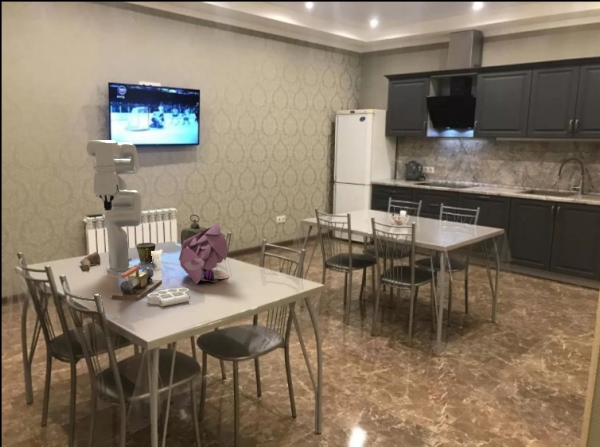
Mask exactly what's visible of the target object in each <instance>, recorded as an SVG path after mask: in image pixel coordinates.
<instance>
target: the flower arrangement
mask: <svg viewBox="0 0 600 447" xmlns="http://www.w3.org/2000/svg"><path fill="white" fill-rule="evenodd" d="M220 226H221V225H220V224H219V223H214V224H213V225H212V226H210V227H208V228H207V229H206V230H204V231H203V232H201V233H199V234H197V235H195V236H193V237H191V238H189V239H187V240H185V241H184V242H183V246H182V247H181V250H180V253H179V257H178V260H179V263H180V267H181V268H182V269H183V270H184V271H185V273H186V274H187V276H189V277H190V279H191V280H192V281H193V283H195V285H198V284H199V282H200V281H206V282H214V283H216V282H217V281H219V280H222V279H223V280H224V279H229V277H230V274H228V273H226V272H223V271H222V270H219V269H215V268H216V266H217V264H221V263H222V262H223V260H224V261H226V259H227V257H228V244H227V240H226V238H225V235H224V234H222V232H221V227H220Z"/></svg>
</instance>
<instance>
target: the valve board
mask: <svg viewBox="0 0 600 447" xmlns="http://www.w3.org/2000/svg"><path fill="white" fill-rule="evenodd" d="M162 281H163V280H162V279H152V282H151V283H147V284H146V285H144V286H143V287H141V288H139V287H134V288H133V289H136V290H137V292H136V293H135V294H122V291H121V289H119V290H118V291H116V292H115V293H113V294H111V299H112V300H113V299H115V300H127V301H128V300H130V301H131V300H132V301H140V300H141V299H143V298H144V297H145V296H147V295H148V294H150V293H152V291H154V290H155V289H156V288H157V287H159V286H160V285H162V284H163V283H162Z"/></svg>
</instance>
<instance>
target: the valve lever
mask: <svg viewBox="0 0 600 447" xmlns="http://www.w3.org/2000/svg"><path fill="white" fill-rule="evenodd" d="M140 269H141V264H135V265H133V266H132V268H131V269H129V270H127V271H123V272H122V273H121V274H120V275H119V277H120V279H126V278H128V276H129V275H131V274H132V273H134V272H136V271H137V270H139V271H140Z"/></svg>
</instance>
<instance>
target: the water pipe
mask: <svg viewBox="0 0 600 447" xmlns="http://www.w3.org/2000/svg"><path fill="white" fill-rule="evenodd" d="M154 274H155V273H154V270H153V268H151V267H145V268H143V269H142V270H141V272H140V269H139V270H137V271H136V272H134V273H132V274H131V275H129V276H128V277H127V279H126V280H123V281H122V282H121V283H120V285H119V290H121V291H122V294H135V293H136V292H137V290H136V289H133V288H134V287H139V288H141V287H143V286H144V285H146V284H147V283H151V282H152V280H153V277H154Z"/></svg>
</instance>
